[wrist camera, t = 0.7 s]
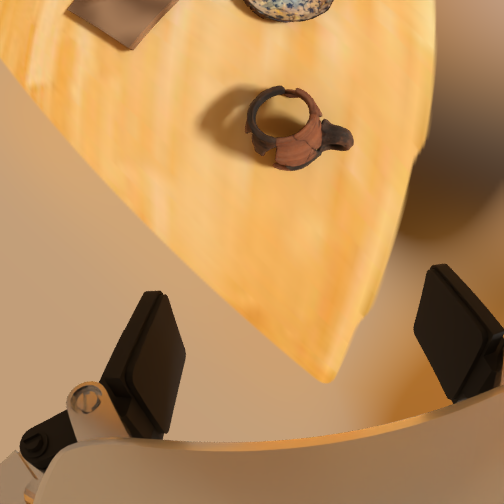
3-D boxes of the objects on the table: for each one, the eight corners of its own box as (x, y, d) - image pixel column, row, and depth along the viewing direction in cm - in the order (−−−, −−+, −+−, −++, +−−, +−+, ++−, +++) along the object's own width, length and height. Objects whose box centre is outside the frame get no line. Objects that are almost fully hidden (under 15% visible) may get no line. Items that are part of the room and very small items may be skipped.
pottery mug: (253, 174, 37) (233, 152, 29) (261, 109, 37) (245, 77, 29) (349, 182, 34) (356, 160, 26) (351, 114, 34) (355, 80, 26)
